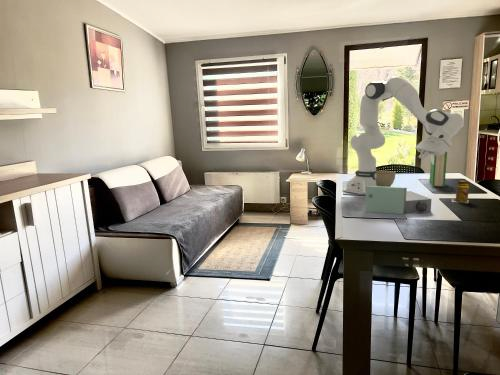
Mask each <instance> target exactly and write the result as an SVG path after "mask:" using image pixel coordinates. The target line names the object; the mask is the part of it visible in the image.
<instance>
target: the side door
mask: <svg viewBox="0 0 500 375" xmlns="http://www.w3.org/2000/svg"><path fill="white" fill-rule="evenodd" d="M406 191H408V190H407V187H403V186H402V187H399V186H390V187H381V186H366V194H365V200H364V201H365V203H364V204H365V206H364V210H365V211H364V212H366V213H380V212H381V213H382V214H394V213H395V214H396V215H406V214H405V211H406ZM381 213H380V214H381Z"/></svg>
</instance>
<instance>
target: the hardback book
mask: <svg viewBox="0 0 500 375" xmlns="http://www.w3.org/2000/svg"><path fill="white" fill-rule="evenodd" d="M430 156H431V157H430V169H429V184H430V185H431V187H432V188H435V187H442V188H445V187H446V186H445V185H446V173H447V160H448V159H447V157H448V152H447V150H446V151H445V152H444V153H443V154H442V155H440V156H437V155H432V154H430Z"/></svg>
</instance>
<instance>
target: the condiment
mask: <svg viewBox="0 0 500 375" xmlns="http://www.w3.org/2000/svg"><path fill="white" fill-rule="evenodd" d="M469 190H470V186H469V181H468V180H466V179H465V180H463V179H462V180H458V181H457V186H456V192H455V198H451V202H452V203H462V204H469V200H468V199H469Z"/></svg>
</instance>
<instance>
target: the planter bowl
mask: <svg viewBox="0 0 500 375" xmlns="http://www.w3.org/2000/svg"><path fill="white" fill-rule="evenodd" d="M376 173H377V177H376V186H381V187H392V186H393V184H394V182H395V179H396V174H397V173H396V171H392V170H391V171H390V170H376Z"/></svg>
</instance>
